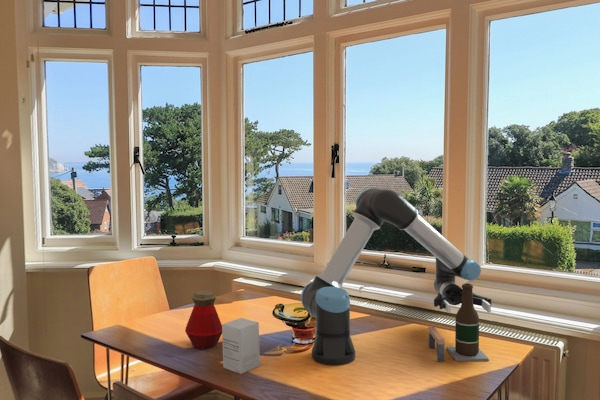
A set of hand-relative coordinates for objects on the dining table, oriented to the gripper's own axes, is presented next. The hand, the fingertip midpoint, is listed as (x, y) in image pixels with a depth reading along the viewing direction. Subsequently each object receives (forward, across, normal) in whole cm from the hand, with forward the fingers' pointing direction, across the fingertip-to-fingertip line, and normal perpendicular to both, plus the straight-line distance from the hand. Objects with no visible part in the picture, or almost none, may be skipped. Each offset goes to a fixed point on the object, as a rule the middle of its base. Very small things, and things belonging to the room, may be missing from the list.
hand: (469, 308), depth 168 cm
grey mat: (-2, 0, -17) cm, 17 cm away
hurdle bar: (-3, +11, -11) cm, 15 cm away
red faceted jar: (-13, +95, -17) cm, 97 cm away
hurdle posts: (-3, +11, -17) cm, 20 cm away
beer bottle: (-2, 0, -16) cm, 16 cm away
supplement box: (+8, +78, -17) cm, 80 cm away
